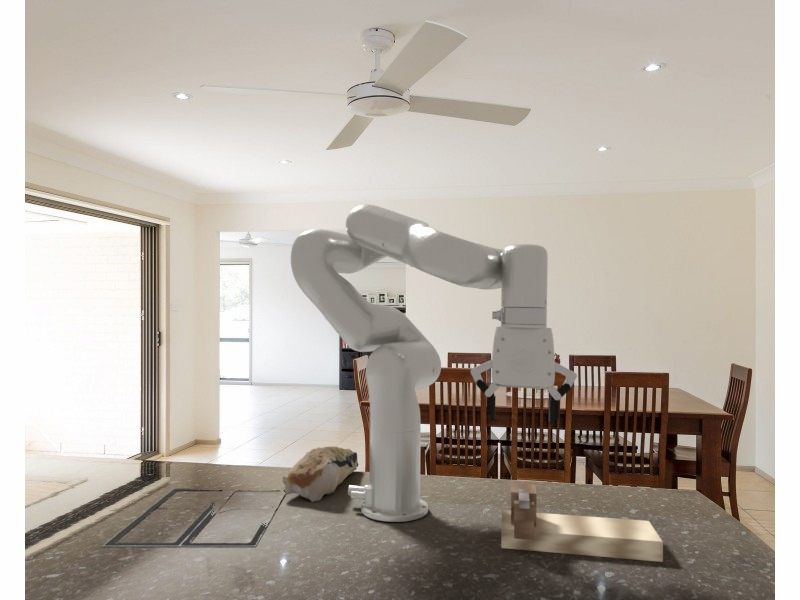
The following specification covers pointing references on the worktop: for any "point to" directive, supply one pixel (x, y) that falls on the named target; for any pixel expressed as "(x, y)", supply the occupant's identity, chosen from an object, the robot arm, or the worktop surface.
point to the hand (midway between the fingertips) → (521, 421)
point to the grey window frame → (187, 535)
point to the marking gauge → (523, 510)
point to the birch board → (587, 536)
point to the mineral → (320, 472)
